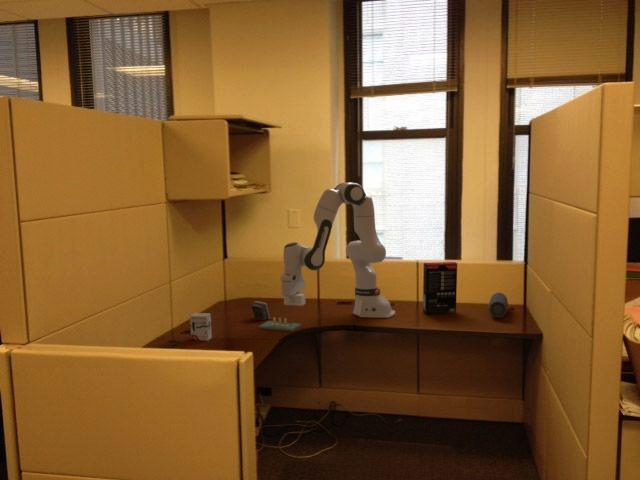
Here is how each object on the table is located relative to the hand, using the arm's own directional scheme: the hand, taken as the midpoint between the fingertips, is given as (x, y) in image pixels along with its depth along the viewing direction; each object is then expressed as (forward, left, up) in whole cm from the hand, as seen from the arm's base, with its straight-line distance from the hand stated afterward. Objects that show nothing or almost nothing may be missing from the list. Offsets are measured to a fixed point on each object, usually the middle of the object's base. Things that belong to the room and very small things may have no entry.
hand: (294, 301), depth 294 cm
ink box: (+28, +43, -11) cm, 52 cm away
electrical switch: (+19, +1, -11) cm, 22 cm away
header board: (+2, +13, -11) cm, 17 cm away
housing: (0, 0, -2) cm, 2 cm away
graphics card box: (-67, -40, -11) cm, 79 cm away
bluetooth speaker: (-96, -45, -11) cm, 107 cm away
